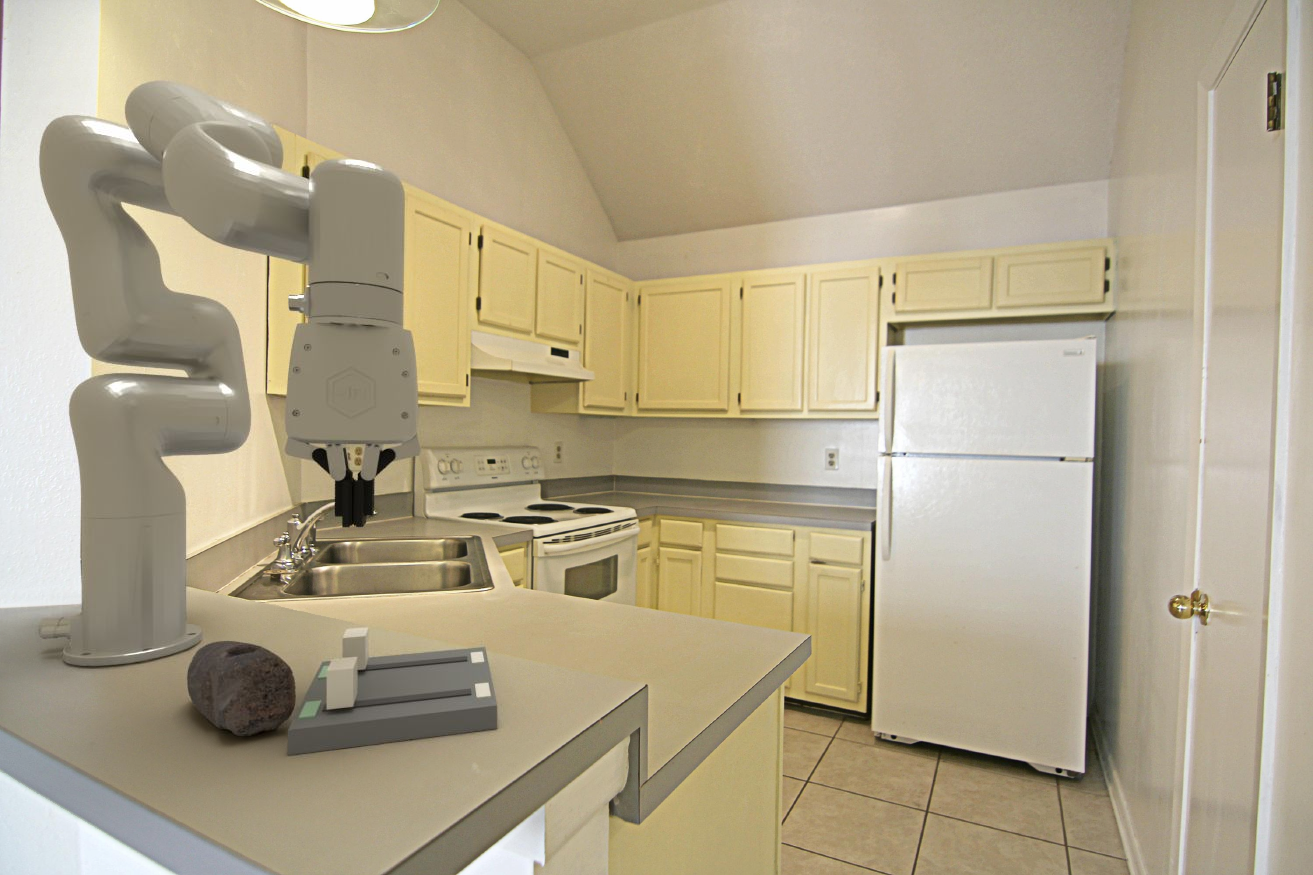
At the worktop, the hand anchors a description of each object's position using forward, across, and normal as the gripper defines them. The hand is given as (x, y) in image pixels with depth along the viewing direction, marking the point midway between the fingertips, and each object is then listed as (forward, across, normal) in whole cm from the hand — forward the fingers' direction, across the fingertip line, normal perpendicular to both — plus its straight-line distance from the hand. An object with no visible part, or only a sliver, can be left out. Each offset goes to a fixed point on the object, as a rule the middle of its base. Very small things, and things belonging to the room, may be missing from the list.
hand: (354, 524), depth 58 cm
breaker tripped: (+15, -1, -1) cm, 15 cm away
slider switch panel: (+17, +4, +3) cm, 18 cm away
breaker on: (+15, -1, +8) cm, 17 cm away
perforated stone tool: (+18, -10, +4) cm, 21 cm away
